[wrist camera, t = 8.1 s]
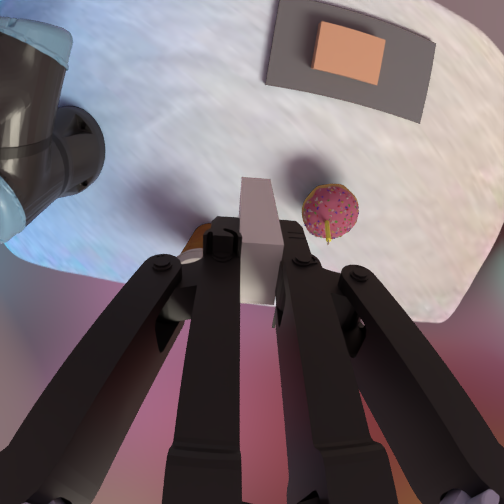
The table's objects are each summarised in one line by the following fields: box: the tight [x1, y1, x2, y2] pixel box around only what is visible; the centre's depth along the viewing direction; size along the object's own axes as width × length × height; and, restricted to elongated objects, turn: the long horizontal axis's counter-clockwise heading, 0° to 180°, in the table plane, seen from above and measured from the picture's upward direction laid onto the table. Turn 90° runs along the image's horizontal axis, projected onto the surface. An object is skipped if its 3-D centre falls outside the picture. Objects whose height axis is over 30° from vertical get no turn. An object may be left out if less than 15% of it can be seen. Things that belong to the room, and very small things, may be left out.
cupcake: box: [302, 184, 359, 245], centre depth 43 cm, size 9×8×12 cm
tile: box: [311, 21, 386, 85], centre depth 34 cm, size 2×7×9 cm
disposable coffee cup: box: [177, 223, 211, 264], centre depth 47 cm, size 10×10×12 cm
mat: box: [265, 0, 436, 124], centre depth 35 cm, size 24×14×1 cm, turn 82°
